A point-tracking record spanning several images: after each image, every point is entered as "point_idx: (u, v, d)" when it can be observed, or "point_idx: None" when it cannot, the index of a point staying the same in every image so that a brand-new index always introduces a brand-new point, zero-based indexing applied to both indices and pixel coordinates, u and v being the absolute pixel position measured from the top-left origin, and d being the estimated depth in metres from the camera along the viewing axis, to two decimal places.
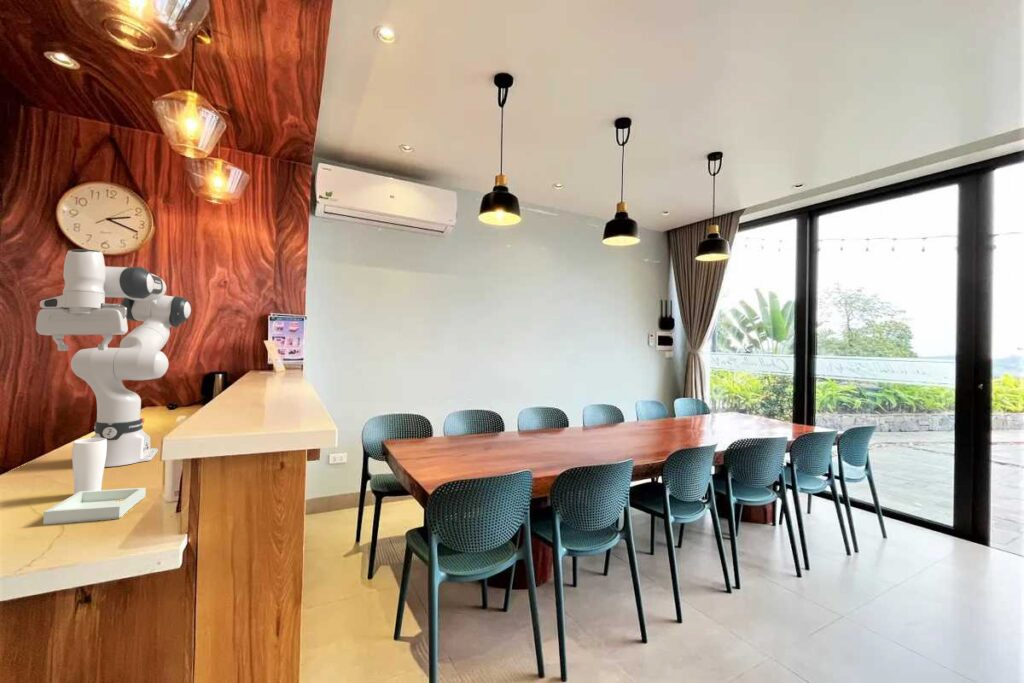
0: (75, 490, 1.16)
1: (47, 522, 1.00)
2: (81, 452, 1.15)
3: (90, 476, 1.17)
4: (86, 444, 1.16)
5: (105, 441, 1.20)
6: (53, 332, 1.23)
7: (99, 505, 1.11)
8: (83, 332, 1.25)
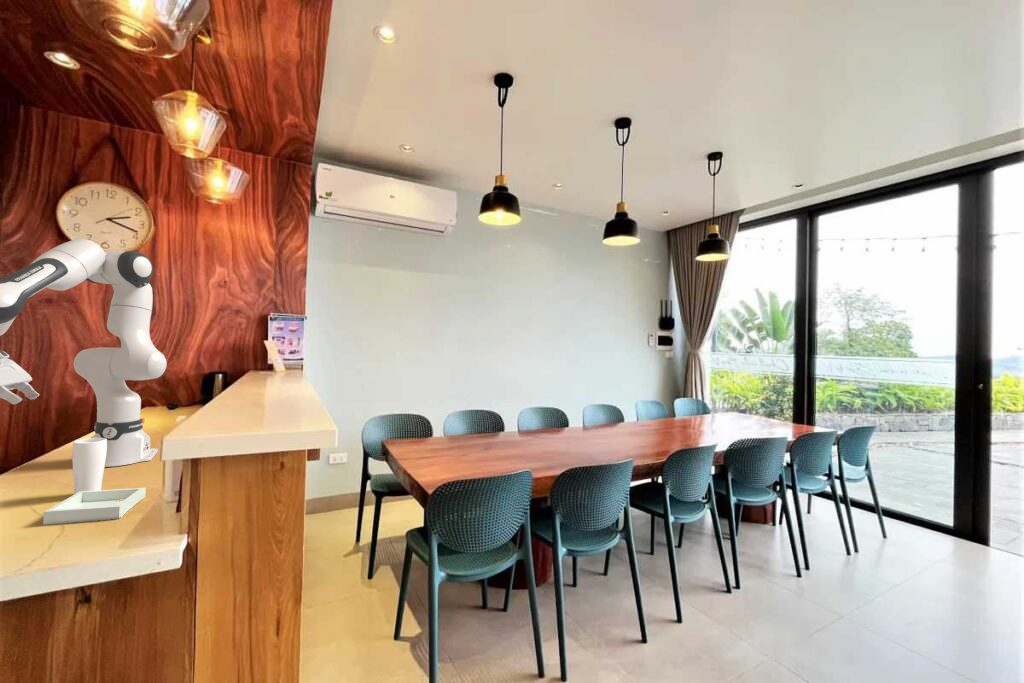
0: (75, 490, 1.16)
1: (47, 522, 1.00)
2: (81, 452, 1.15)
3: (90, 476, 1.17)
4: (86, 444, 1.16)
5: (105, 441, 1.20)
6: None
7: (99, 505, 1.11)
8: None
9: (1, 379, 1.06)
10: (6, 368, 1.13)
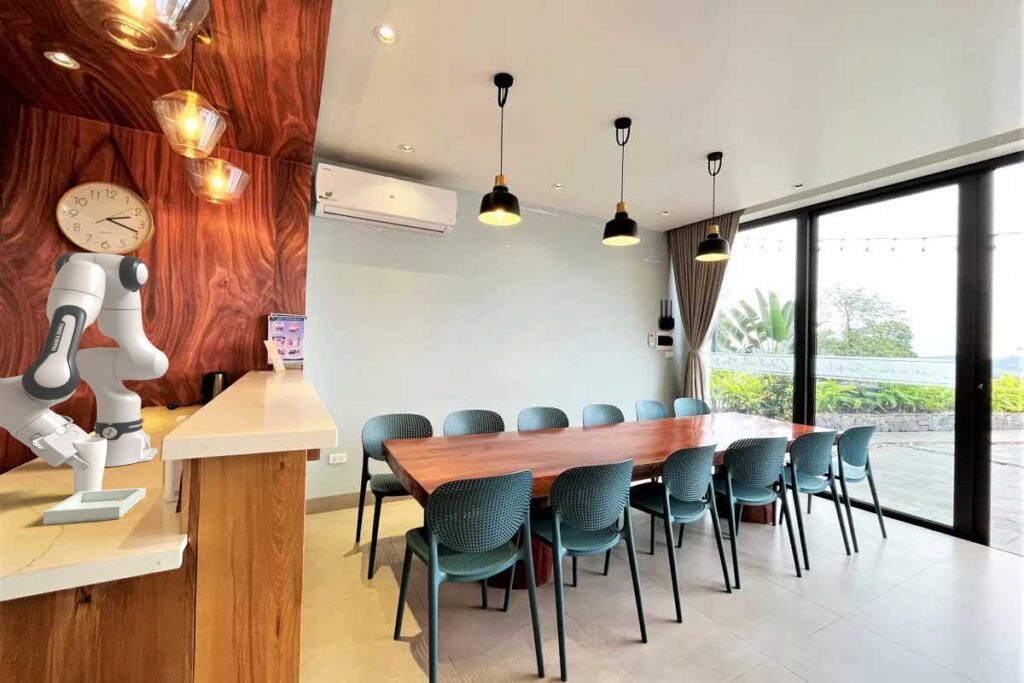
0: (75, 490, 1.16)
1: (47, 522, 1.00)
2: (81, 452, 1.15)
3: (90, 476, 1.17)
4: (86, 444, 1.16)
5: (105, 441, 1.20)
6: None
7: (99, 505, 1.11)
8: None
9: (70, 448, 1.13)
10: (71, 433, 1.20)
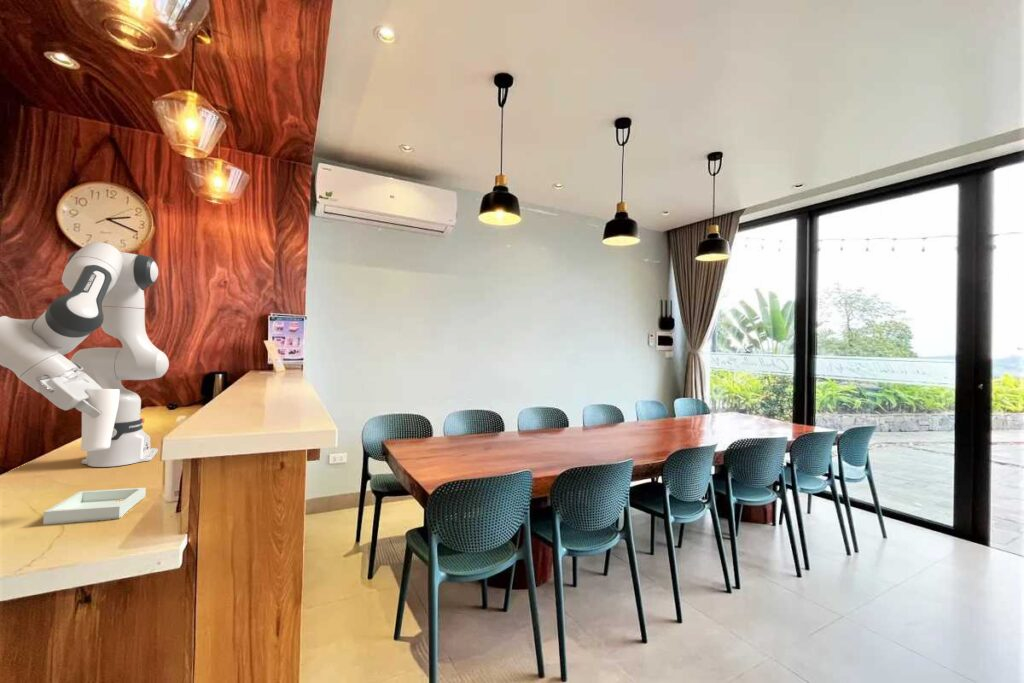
0: (83, 442, 1.06)
1: (47, 522, 1.00)
2: (93, 399, 1.07)
3: (100, 426, 1.07)
4: (98, 390, 1.07)
5: (118, 391, 1.11)
6: None
7: (99, 505, 1.11)
8: None
9: (81, 393, 1.04)
10: (81, 381, 1.11)
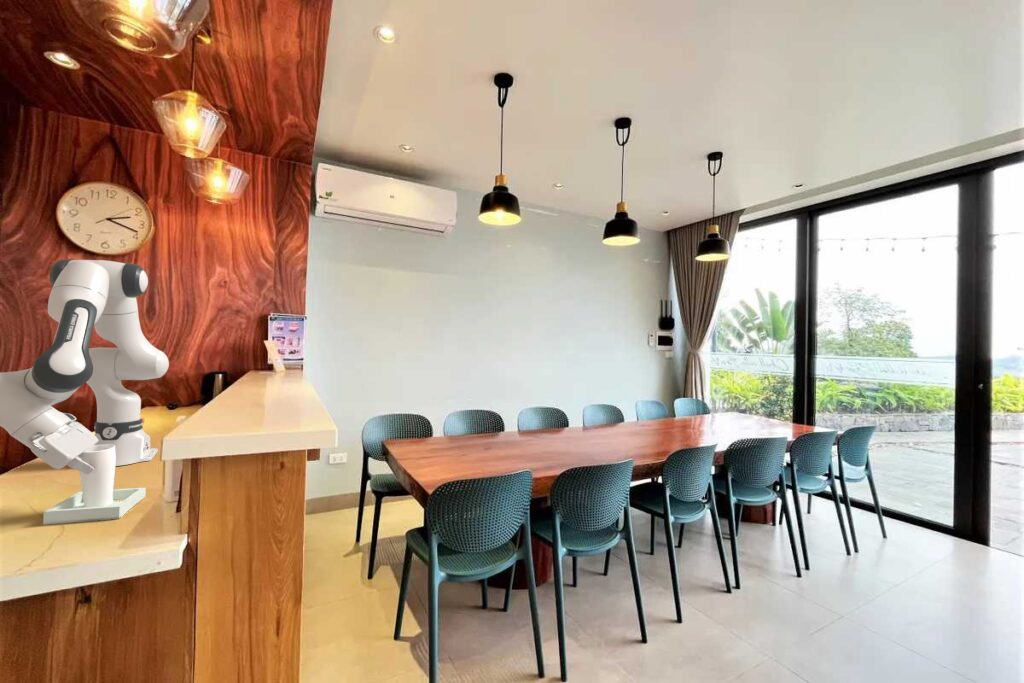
0: (85, 502, 1.07)
1: (47, 522, 1.00)
2: (88, 462, 1.06)
3: (100, 486, 1.08)
4: (93, 453, 1.06)
5: (113, 448, 1.10)
6: None
7: None
8: None
9: (74, 449, 1.03)
10: (75, 433, 1.10)
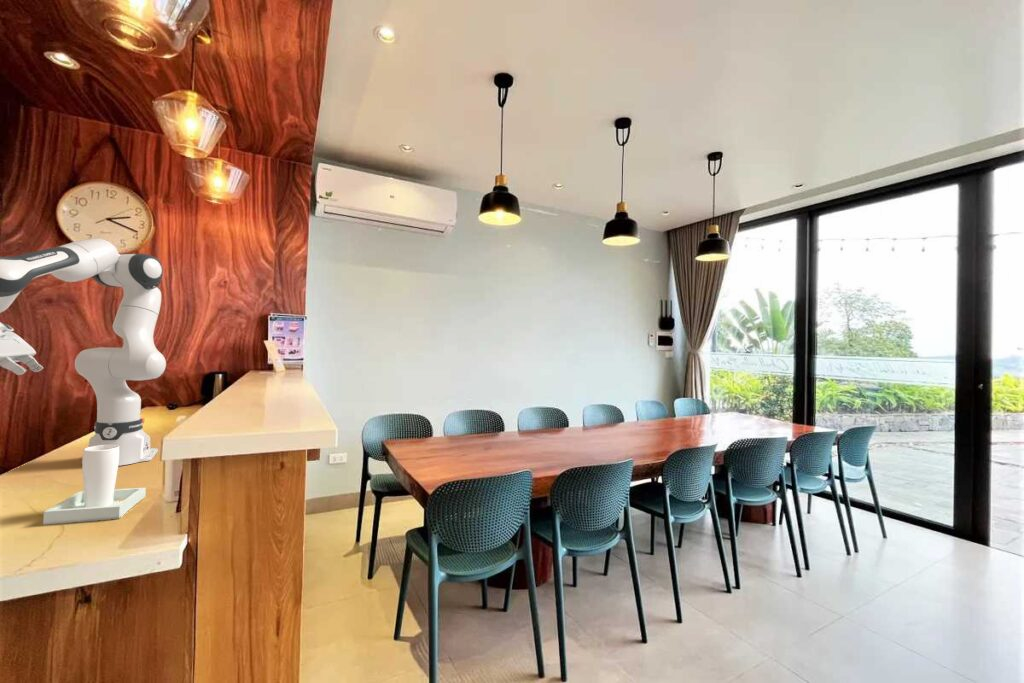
0: (86, 501, 1.07)
1: (47, 522, 1.00)
2: (93, 461, 1.07)
3: (102, 486, 1.08)
4: (98, 452, 1.07)
5: (118, 448, 1.11)
6: None
7: None
8: None
9: (6, 350, 1.09)
10: (10, 341, 1.16)
